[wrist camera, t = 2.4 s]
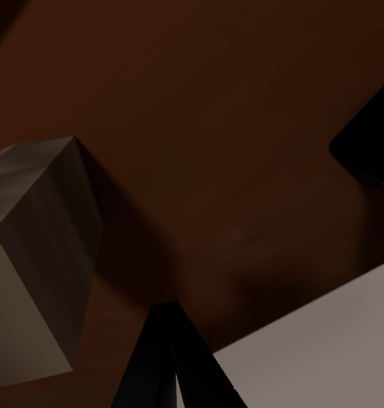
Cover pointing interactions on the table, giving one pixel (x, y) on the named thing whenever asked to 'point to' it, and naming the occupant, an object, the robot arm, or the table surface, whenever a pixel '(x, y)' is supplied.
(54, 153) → the streaky grey slab
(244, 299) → the table surface
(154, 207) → the table surface
